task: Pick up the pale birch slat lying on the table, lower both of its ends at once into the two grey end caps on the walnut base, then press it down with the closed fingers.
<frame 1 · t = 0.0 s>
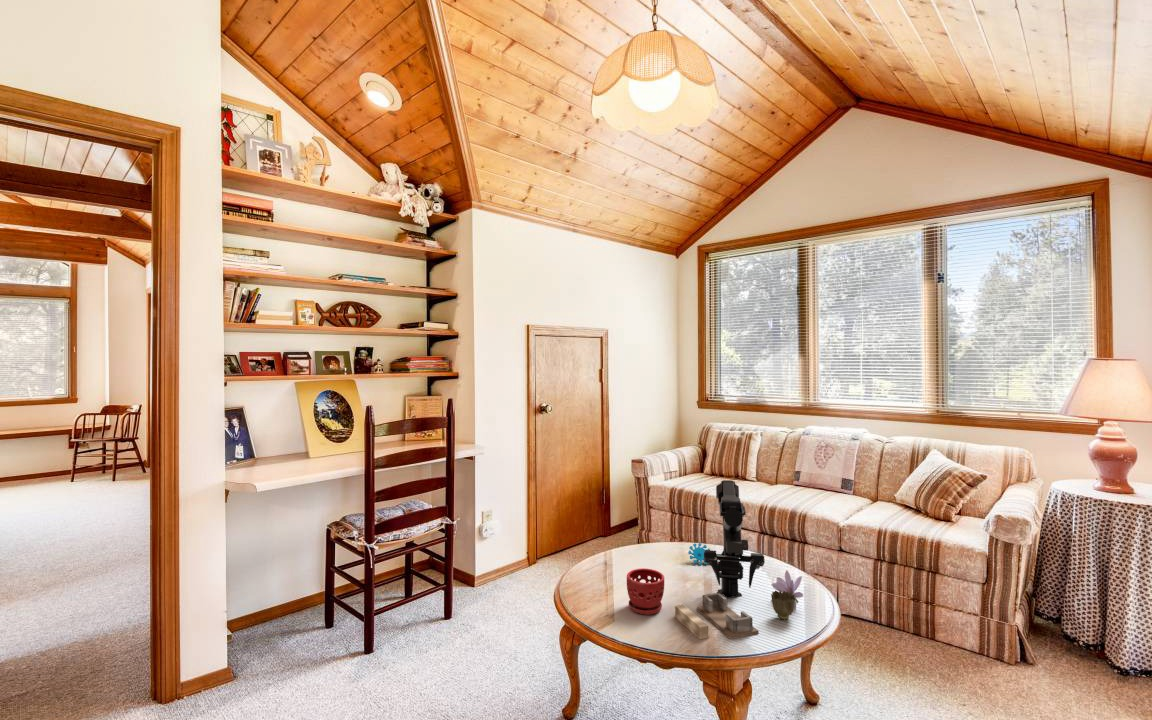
hand: (734, 586, 170), 15 cm above the table, tool tilted 35°, fingers open, 9 cm apart
end cap base: (726, 621, 179), on the table
cup: (783, 619, 180), on the table
gear: (701, 563, 233), on the table
plant pot: (645, 610, 188), on the table
birch slat: (691, 627, 175), on the table
water lily: (786, 605, 191), on the table
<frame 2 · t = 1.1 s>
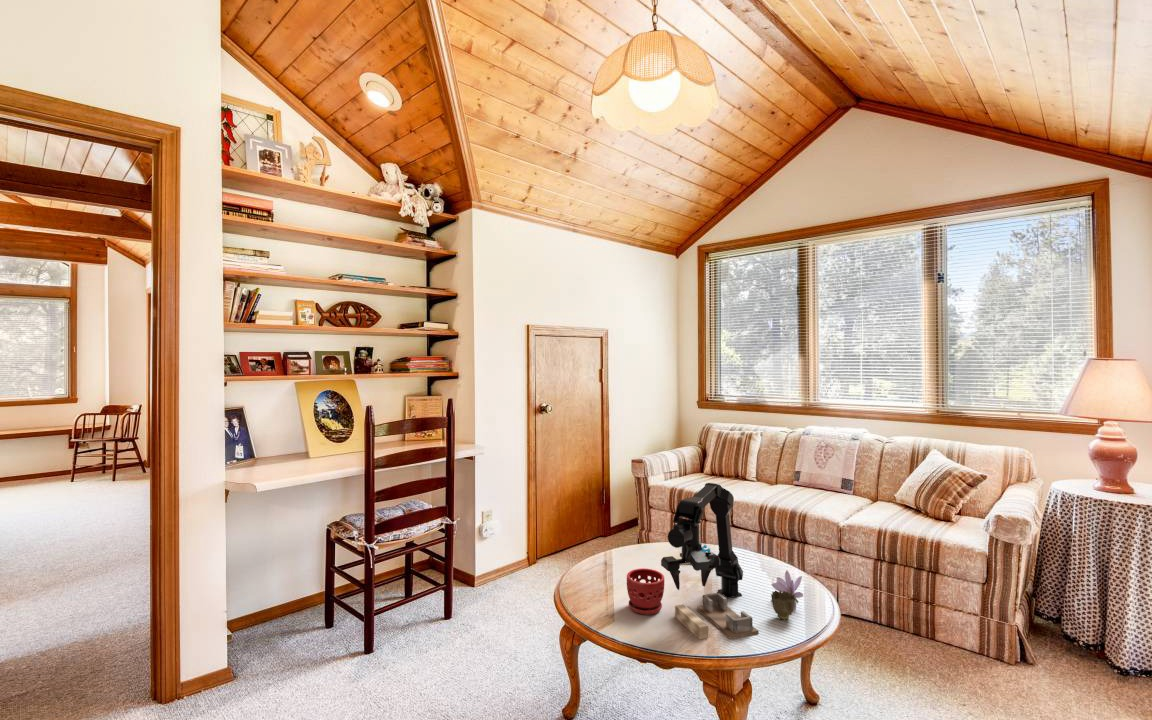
hand: (690, 587, 176), 13 cm above the table, tool pointing down, fingers open, 9 cm apart
nothing on the table moved.
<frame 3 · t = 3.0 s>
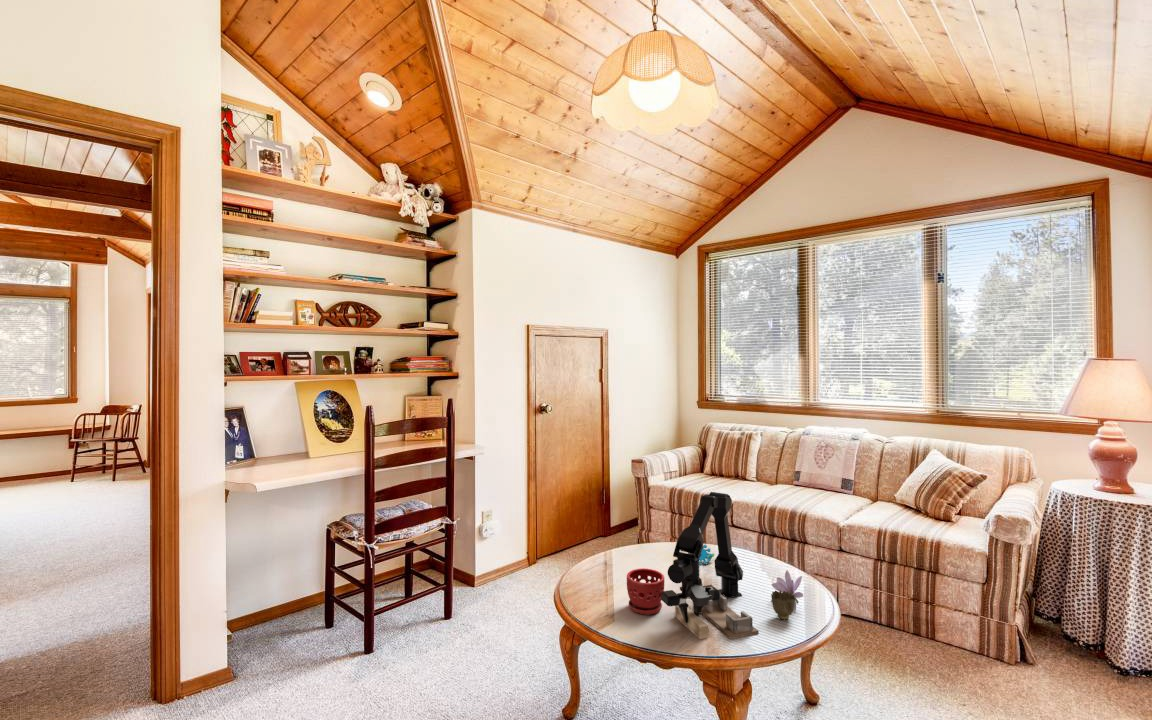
hand: (691, 621, 175), 2 cm above the table, tool pointing down, fingers closed on birch slat, 3 cm apart
birch slat: (691, 627, 175), on the table, touching gripper
everything else where it was.
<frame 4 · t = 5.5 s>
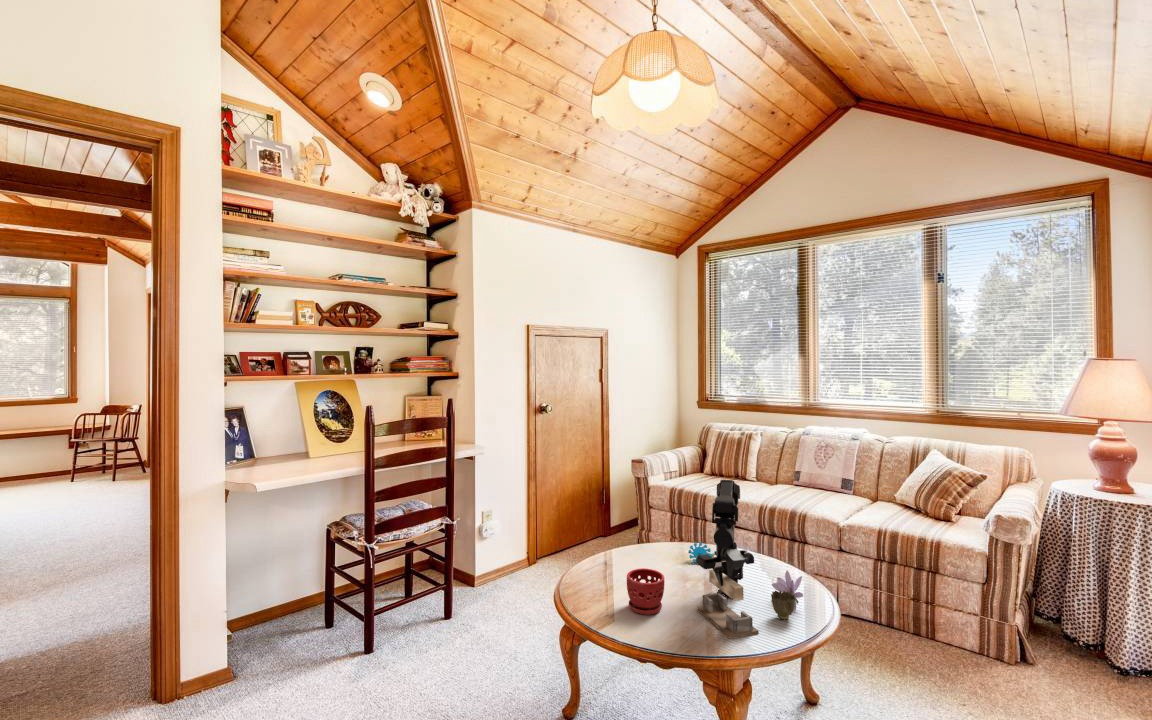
hand: (725, 585, 179), 12 cm above the table, tool pointing down, fingers closed on birch slat, 3 cm apart
birch slat: (725, 590, 179), point 10 cm above the table, touching gripper
everything else where it was.
when the fingers open (4 cm above the table, at t = 7.4 s): birch slat drops 2 cm, resting on end cap base.
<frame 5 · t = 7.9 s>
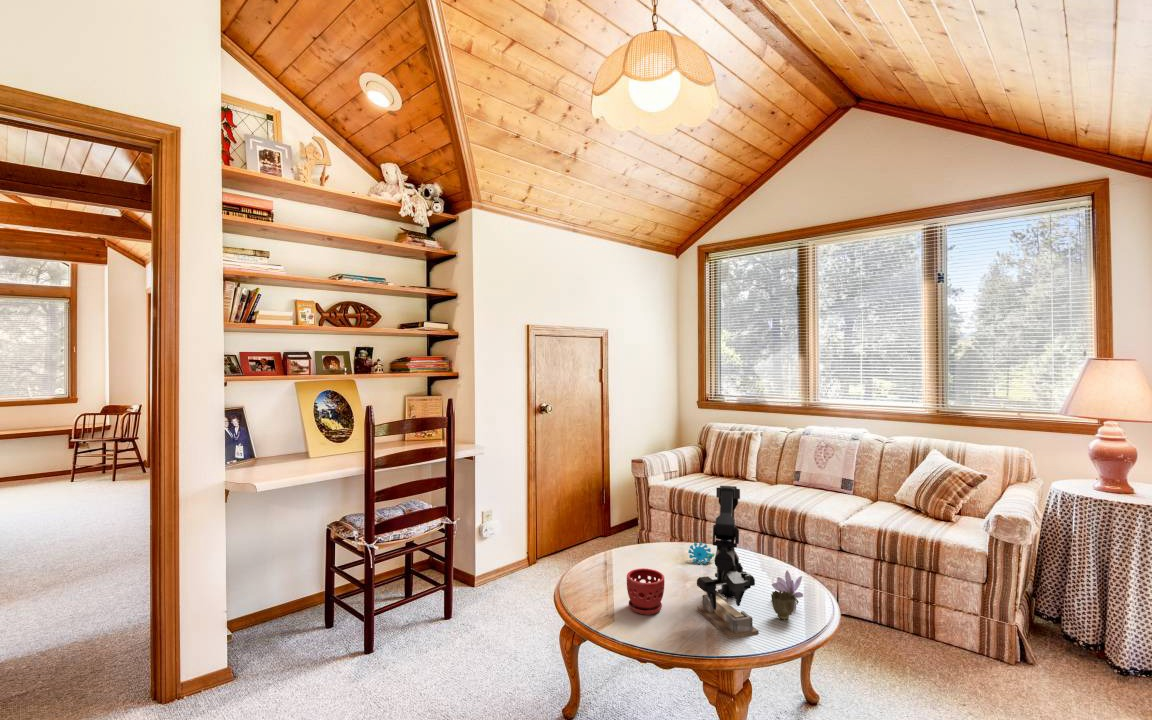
hand: (726, 607, 179), 4 cm above the table, tool pointing down, fingers open, 8 cm apart
birch slat: (726, 618, 179), point 1 cm above the table, touching end cap base
everything else where it was.
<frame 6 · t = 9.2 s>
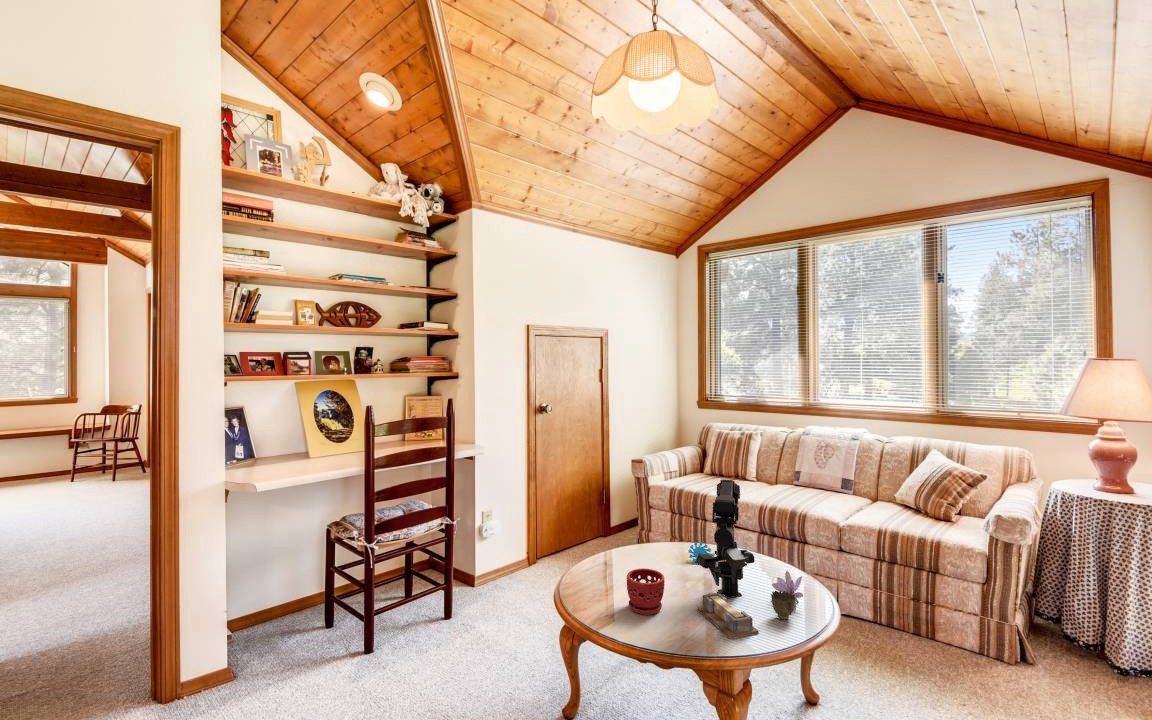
hand: (725, 584, 179), 12 cm above the table, tool pointing down, fingers open, 6 cm apart
nothing on the table moved.
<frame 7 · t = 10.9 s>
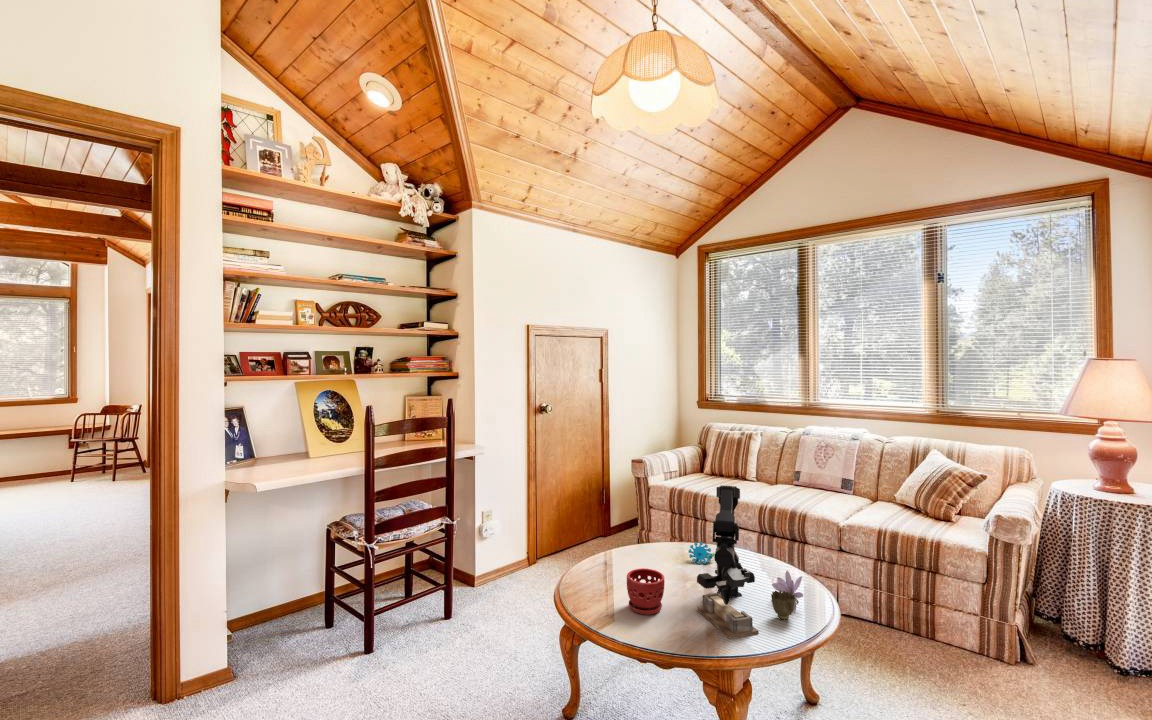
hand: (726, 604, 179), 6 cm above the table, tool pointing down, fingers closed
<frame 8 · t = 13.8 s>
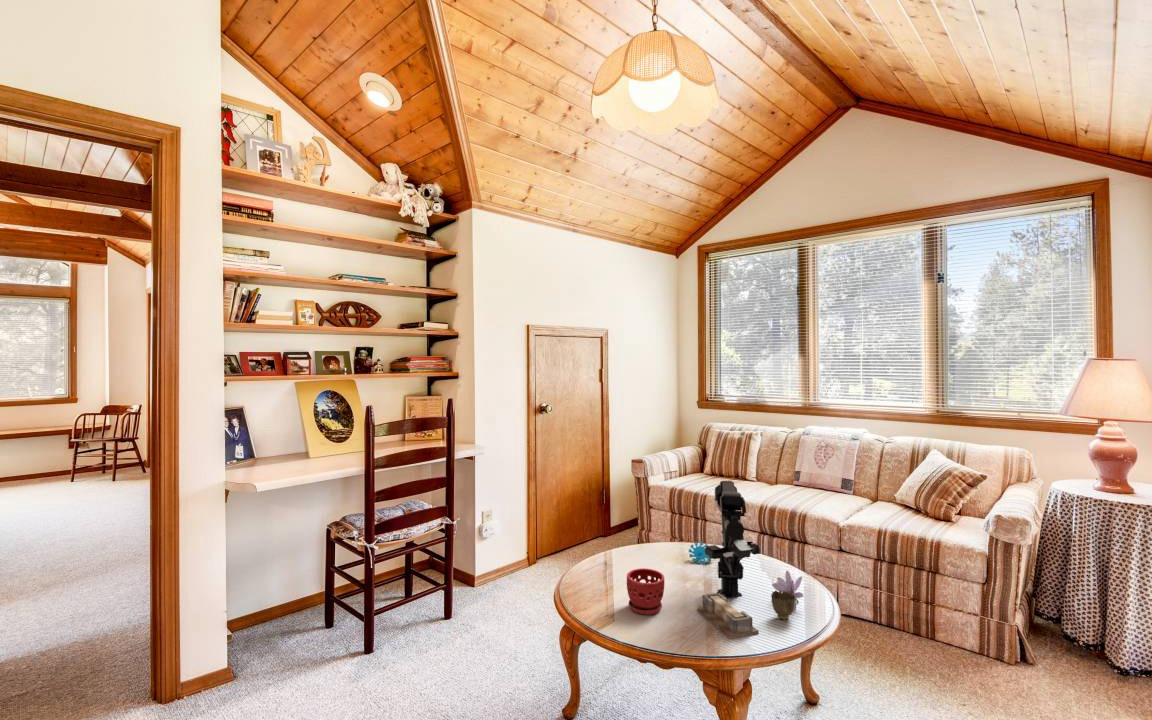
hand: (732, 574, 188), 12 cm above the table, tool pointing down, fingers closed
at the end: birch slat 0.0 cm off-centre on the end cap base, point 1.0 cm above the end cap base's base; birch slat tilted 0°; the gripper is holding nothing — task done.
